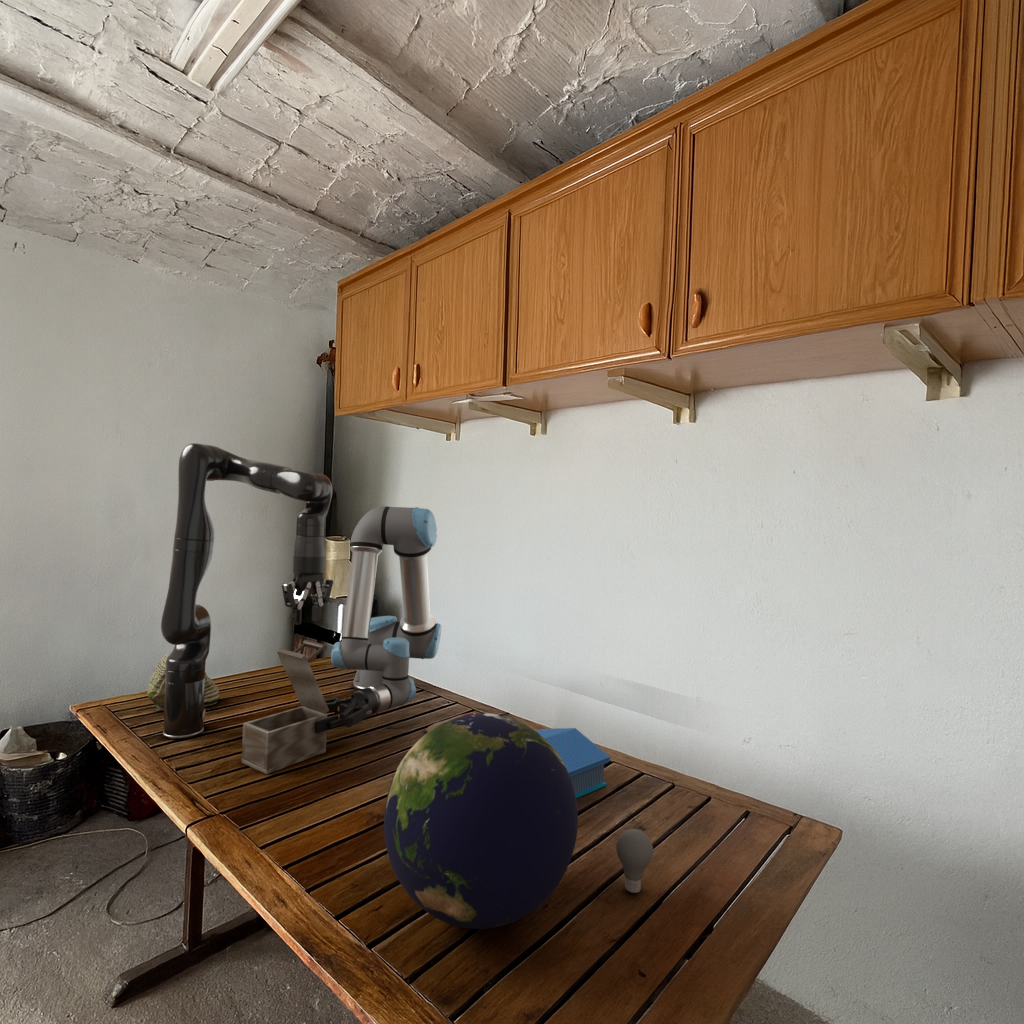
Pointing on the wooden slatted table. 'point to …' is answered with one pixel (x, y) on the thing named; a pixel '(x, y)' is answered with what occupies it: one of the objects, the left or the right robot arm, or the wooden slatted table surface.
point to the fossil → (158, 687)
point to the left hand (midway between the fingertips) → (306, 622)
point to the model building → (578, 758)
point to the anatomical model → (446, 721)
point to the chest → (282, 739)
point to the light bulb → (634, 857)
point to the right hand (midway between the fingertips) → (302, 722)
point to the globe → (480, 821)
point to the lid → (304, 675)
